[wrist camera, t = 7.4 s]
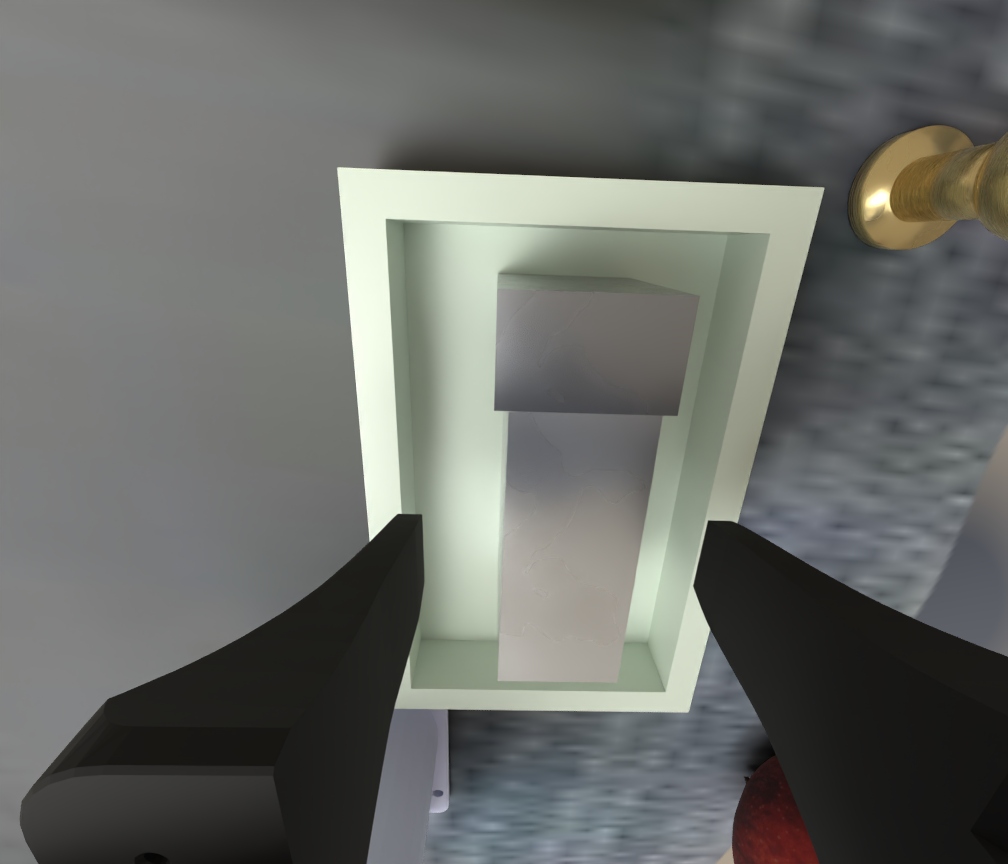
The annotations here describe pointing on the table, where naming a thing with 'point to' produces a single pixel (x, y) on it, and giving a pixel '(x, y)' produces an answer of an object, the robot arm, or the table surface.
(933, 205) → the door knob
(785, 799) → the apple
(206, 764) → the robot arm
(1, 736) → the table surface
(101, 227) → the table surface
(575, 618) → the strut
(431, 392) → the tray
